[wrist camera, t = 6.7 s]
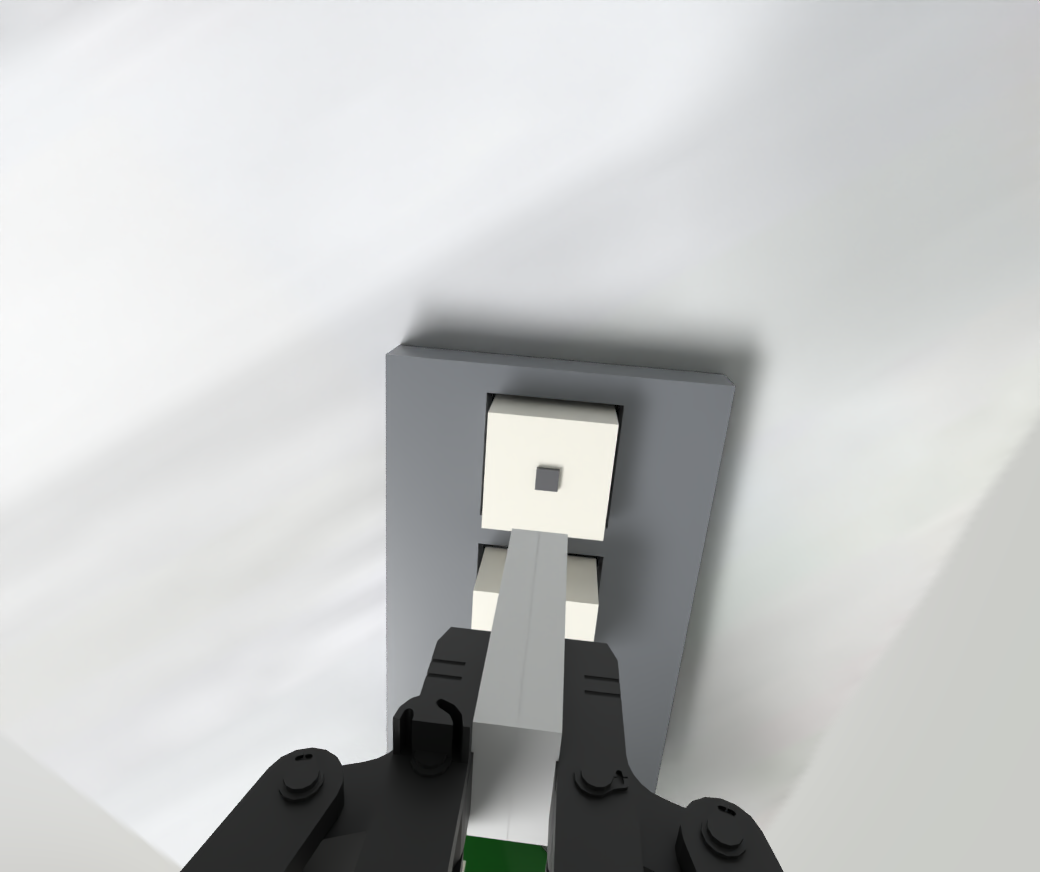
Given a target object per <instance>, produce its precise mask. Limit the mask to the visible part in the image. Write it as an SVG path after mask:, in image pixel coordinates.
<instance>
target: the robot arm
mask: <svg viewBox="0 0 1040 872" xmlns="http://www.w3.org/2000/svg"><path fill="white" fill-rule="evenodd" d="M567 545H568V534H561V533H551V532H542V531H533V530H523V529H514V528H512V531H511V536H510V541H509V546H508V551H507V556H506V561H505V566H504V571H503V576H502V581H501V585H500V590H499V595H498V600H497V605H496V610H495V615H494V620H493V625H492V630H491V631H484V630H475V629H466V628H458V627H450V628H449V629H448V630H447V631H446V633H445V634H444V635H443V636H442V637H441V638H440V639H439V640H438V641H437V643H436V646H435V649H434V653H433V656H432V660H431V662H430V665H429V668H428V671H427V676H426V677H425V680H424V684H423V687H422V690H421V693H420V695H419V696H416V697H413V698H410V699H409V700H408V701H406V702H405V703H404V704H402V705H401V706H400V707H399V708H398V710H397V712H396V713H395V715H394V716H393V750H392V751H391V752H389V753H388V754H386V755H384V756H381V757H379V758H377V759H374V760H370V761H366V762H360V763H354V764H348V765H341V763H340V761H339V759H338V758H337V757H336V756H335V755H333V754H332V753H330V752H329V751H327V750H323V749H317V748H306V749H300V750H295V751H293V752H291V753H289V754H287V755H285V756H283V757H281V758H280V759H278V760H277V761H276V762H275V763H274V764H273V765H272V766H270V767H269V768H268V769H267V770H266V772H265V773H264V774H263V775H262V776H261V778H260V779H259V780H258V781H257V782H256V783H255V785H254V786H253V787H252V788H251V789H250V790H249V792H248V793H247V794H246V795H245V796H244V797H243V799H242V800H241V801H240V802H239V803H238V804H237V806H236V807H235V808H234V809H233V810H232V812H231V813H230V814H229V815H228V816H227V817H226V819H225V820H224V821H223V822H222V823H221V824H220V826H219V827H218V828H217V829H216V830H215V831H214V833H213V834H212V835H211V836H210V837H209V838H208V840H207V841H206V842H205V843H204V844H203V846H202V847H201V848H200V849H199V850H198V851H197V853H196V854H195V855H194V856H193V857H192V858H191V860H190V861H189V862H188V863H187V864H186V865H185V867H184V868H183V869H182V870H181V871H180V872H462V869H463V853H464V844H465V838H466V833H467V835H469V836H477V837H484V838H491V839H499V840H506V841H514V842H521V843H528V844H536V845H543V846H547V861H546V869H545V872H783V870H782V868H781V866H780V864H779V862H778V860H777V859H776V857H775V855H774V853H773V851H772V849H771V847H770V845H769V844H768V842H767V840H766V838H765V836H764V834H763V832H762V831H761V829H760V828H759V827H758V825H757V824H756V823H755V821H754V820H753V819H752V817H751V816H750V815H748V814H747V813H746V812H745V811H743V810H742V809H741V808H739V807H738V806H737V805H735V804H732V803H730V802H728V801H725V800H723V799H720V798H710V797H704V798H701V799H698V800H694V801H692V802H691V803H690V804H689V805H688V806H687V807H686V808H684V807H681V806H679V805H677V804H674V803H672V802H670V801H668V800H665V799H663V798H661V797H659V796H658V795H656V794H654V793H652V792H651V791H649V790H648V789H647V788H646V787H645V786H643V785H642V784H641V783H640V782H639V780H638V779H637V778H636V777H635V776H634V774H633V772H632V770H631V768H630V766H629V764H628V760H627V756H626V746H625V735H624V724H623V713H622V702H621V691H620V683H619V668H618V660H617V658H616V657H615V655H614V654H613V652H612V650H611V649H610V647H609V646H608V644H607V643H600V642H591V641H583V640H574V639H566V638H565V614H566V579H567Z"/></svg>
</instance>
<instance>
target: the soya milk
mask: <svg viewBox="0 0 1040 872" xmlns="http://www.w3.org/2000/svg"><path fill="white" fill-rule="evenodd" d="M546 861H547V852H546V851H545V850H544V849H543V848H542V847H541V846H540V845H536V844H528V843H521V842H514V841H506V840H499V839H491V838H484V837H477V836H469V835H467V833H466V838H465V844H464V853H463V869H462V872H545V869H546Z"/></svg>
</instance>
